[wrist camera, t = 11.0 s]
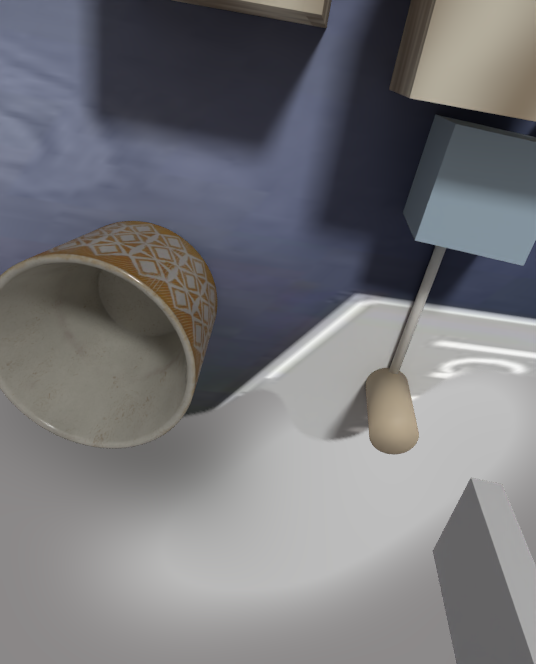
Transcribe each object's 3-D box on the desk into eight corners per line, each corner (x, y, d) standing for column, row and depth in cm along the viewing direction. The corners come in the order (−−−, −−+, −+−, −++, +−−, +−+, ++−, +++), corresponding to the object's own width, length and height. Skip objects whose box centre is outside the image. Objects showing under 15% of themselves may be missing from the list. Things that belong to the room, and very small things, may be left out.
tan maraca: (343, 393, 40) (343, 443, 34) (435, 114, 30) (455, 123, 24) (417, 411, 39) (429, 463, 34) (535, 137, 30) (577, 151, 24)
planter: (250, 237, 35) (217, 297, 25) (210, 381, 41) (173, 473, 32) (73, 181, 34) (-24, 223, 25) (60, 335, 40) (-22, 414, 31)
